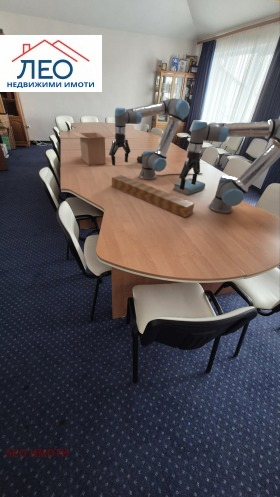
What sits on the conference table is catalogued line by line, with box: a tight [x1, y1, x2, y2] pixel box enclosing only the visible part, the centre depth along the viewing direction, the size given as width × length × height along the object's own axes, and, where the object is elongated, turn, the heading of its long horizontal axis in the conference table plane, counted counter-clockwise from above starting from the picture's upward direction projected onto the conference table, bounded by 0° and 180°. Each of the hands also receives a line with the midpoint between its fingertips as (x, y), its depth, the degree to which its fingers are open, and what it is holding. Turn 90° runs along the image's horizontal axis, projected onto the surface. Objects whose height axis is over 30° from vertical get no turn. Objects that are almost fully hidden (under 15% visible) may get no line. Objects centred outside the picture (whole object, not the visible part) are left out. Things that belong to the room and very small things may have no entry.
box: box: [70, 129, 114, 166], centre depth 229 cm, size 44×36×27 cm
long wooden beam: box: [111, 174, 195, 219], centre depth 165 cm, size 72×10×7 cm, turn 48°
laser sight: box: [136, 153, 143, 164], centre depth 240 cm, size 10×22×10 cm, turn 78°
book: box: [173, 177, 206, 196], centre depth 186 cm, size 23×16×5 cm
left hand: (120, 163), depth 172 cm, fingers open, 13 cm apart
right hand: (187, 186), depth 140 cm, fingers open, 13 cm apart
